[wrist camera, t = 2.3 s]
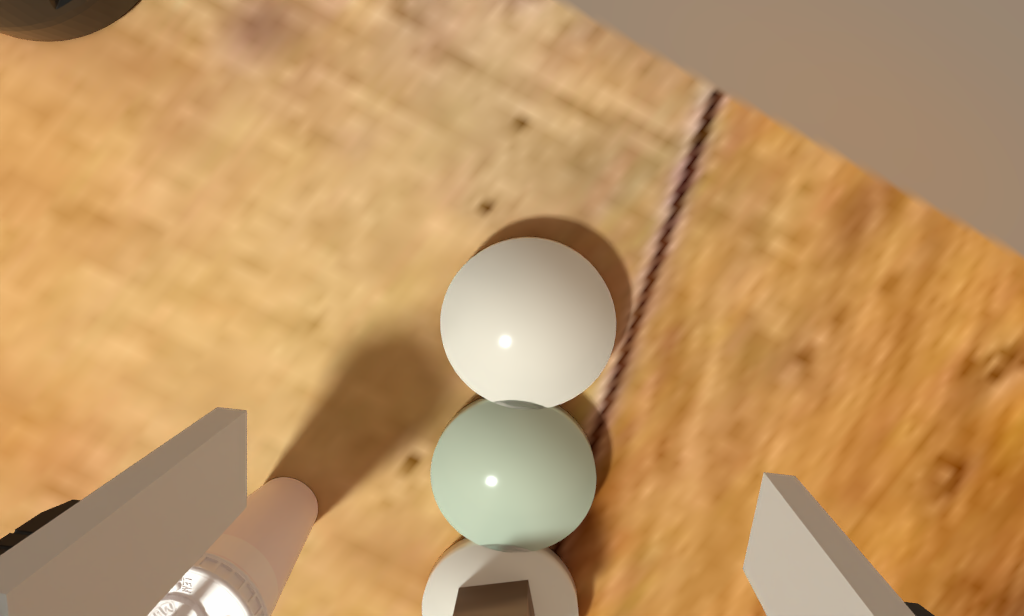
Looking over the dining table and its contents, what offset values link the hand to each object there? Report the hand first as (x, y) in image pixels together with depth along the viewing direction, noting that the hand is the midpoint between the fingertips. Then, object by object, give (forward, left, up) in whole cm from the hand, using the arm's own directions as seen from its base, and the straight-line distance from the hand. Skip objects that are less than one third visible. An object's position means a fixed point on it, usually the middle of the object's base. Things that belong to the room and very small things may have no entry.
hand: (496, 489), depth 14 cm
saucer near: (-1, 0, -16) cm, 16 cm away
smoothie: (+12, -13, -17) cm, 24 cm away
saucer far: (+16, 0, -16) cm, 23 cm away
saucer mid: (+8, 0, -16) cm, 18 cm away
